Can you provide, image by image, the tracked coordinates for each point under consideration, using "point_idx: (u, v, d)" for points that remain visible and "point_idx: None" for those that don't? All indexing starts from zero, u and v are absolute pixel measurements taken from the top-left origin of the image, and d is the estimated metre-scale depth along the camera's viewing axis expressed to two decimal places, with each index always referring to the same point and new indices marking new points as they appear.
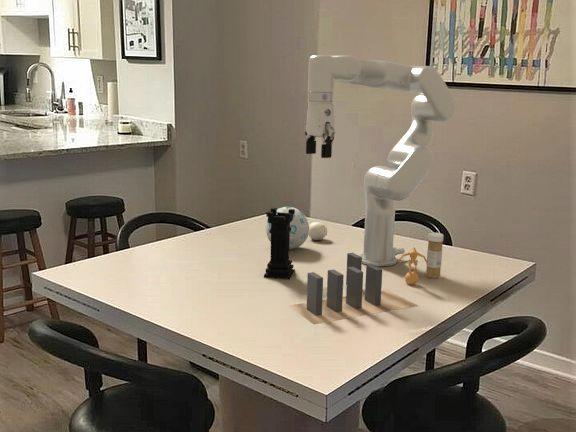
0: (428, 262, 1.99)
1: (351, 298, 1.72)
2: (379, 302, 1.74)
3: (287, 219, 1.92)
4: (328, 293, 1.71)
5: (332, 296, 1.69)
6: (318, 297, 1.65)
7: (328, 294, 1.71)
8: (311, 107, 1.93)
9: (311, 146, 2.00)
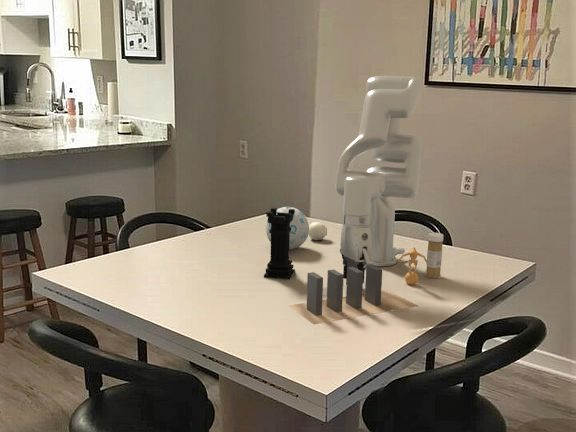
0: (428, 262, 1.99)
1: (351, 298, 1.72)
2: (379, 302, 1.74)
3: (287, 219, 1.92)
4: (328, 293, 1.71)
5: (332, 296, 1.69)
6: (318, 297, 1.65)
7: (328, 294, 1.71)
8: (346, 229, 1.84)
9: None
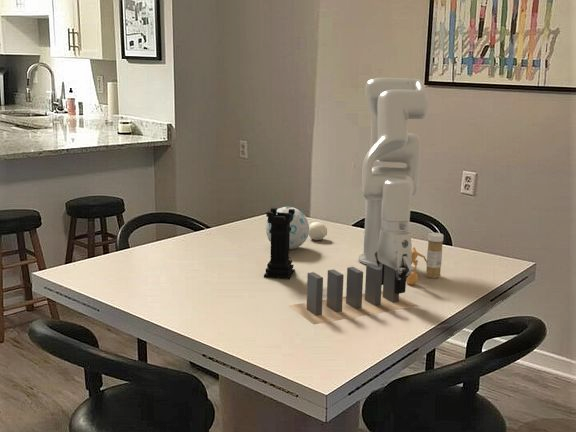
0: (428, 262, 1.99)
1: (351, 298, 1.72)
2: (379, 302, 1.74)
3: (287, 219, 1.92)
4: (328, 293, 1.71)
5: (332, 296, 1.69)
6: (318, 297, 1.65)
7: (328, 294, 1.71)
8: (385, 235, 1.74)
9: None
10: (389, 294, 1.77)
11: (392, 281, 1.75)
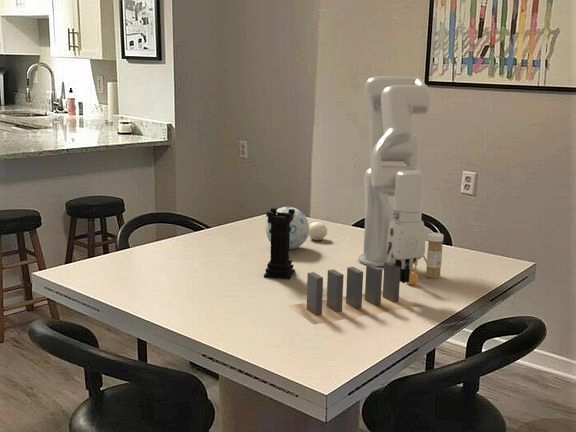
0: (428, 262, 1.99)
1: (351, 298, 1.72)
2: (379, 302, 1.74)
3: (287, 219, 1.92)
4: (328, 293, 1.71)
5: (332, 296, 1.69)
6: (318, 297, 1.65)
7: (328, 294, 1.71)
8: None
9: None
10: (389, 294, 1.77)
11: (392, 281, 1.75)
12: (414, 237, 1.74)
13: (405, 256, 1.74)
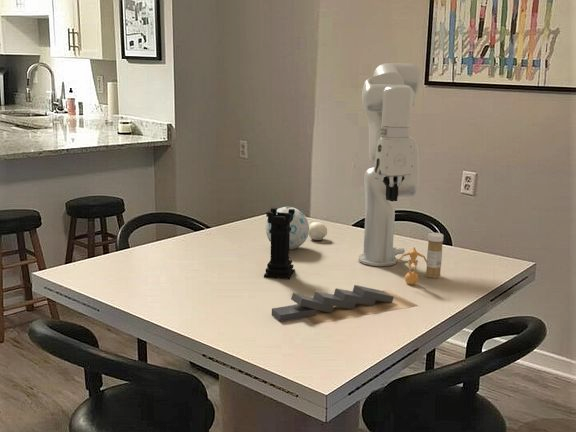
0: (428, 262, 1.99)
1: None
2: (373, 300, 1.73)
3: (287, 219, 1.92)
4: None
5: None
6: (298, 316, 1.63)
7: None
8: None
9: None
10: None
11: (373, 298, 1.74)
12: (402, 153, 1.73)
13: (393, 173, 1.73)
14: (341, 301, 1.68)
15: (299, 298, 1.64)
